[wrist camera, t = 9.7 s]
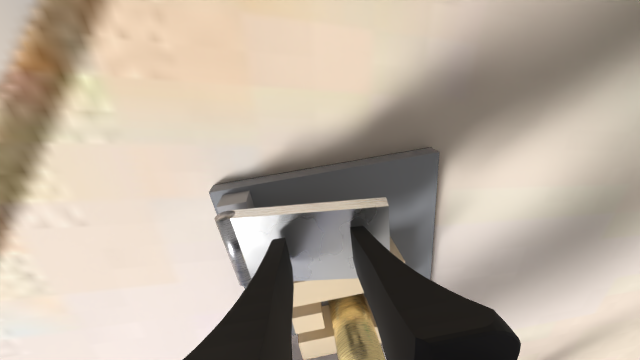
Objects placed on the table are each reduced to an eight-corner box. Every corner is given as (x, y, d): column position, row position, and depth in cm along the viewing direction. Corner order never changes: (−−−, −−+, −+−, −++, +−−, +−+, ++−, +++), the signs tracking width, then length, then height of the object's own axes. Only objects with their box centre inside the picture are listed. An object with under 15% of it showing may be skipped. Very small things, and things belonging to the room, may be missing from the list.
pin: (360, 294, 20) (388, 380, 14) (328, 301, 20) (344, 391, 14) (357, 269, 19) (386, 353, 13) (323, 277, 18) (338, 365, 13)
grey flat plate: (387, 265, 14) (391, 279, 13) (242, 272, 15) (236, 286, 14) (385, 197, 12) (389, 208, 11) (219, 211, 13) (211, 222, 12)
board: (422, 297, 22) (445, 335, 19) (265, 329, 22) (261, 375, 18) (430, 147, 16) (465, 167, 13) (213, 185, 16) (194, 216, 12)
